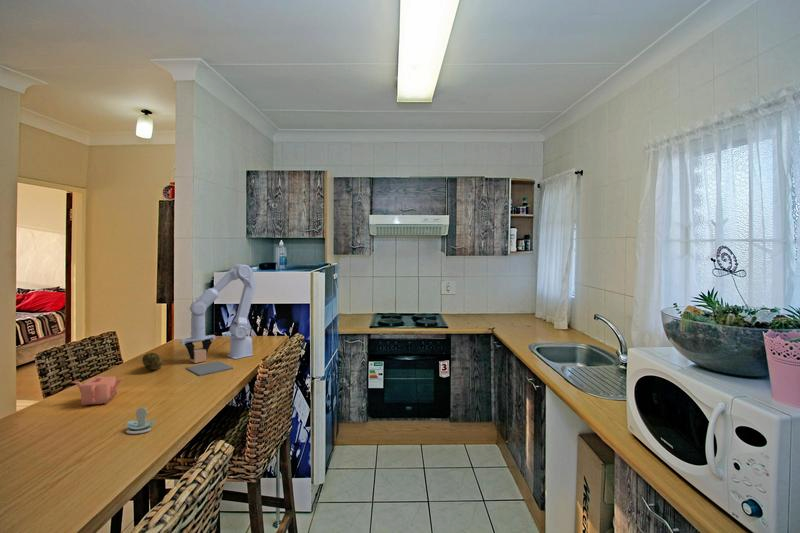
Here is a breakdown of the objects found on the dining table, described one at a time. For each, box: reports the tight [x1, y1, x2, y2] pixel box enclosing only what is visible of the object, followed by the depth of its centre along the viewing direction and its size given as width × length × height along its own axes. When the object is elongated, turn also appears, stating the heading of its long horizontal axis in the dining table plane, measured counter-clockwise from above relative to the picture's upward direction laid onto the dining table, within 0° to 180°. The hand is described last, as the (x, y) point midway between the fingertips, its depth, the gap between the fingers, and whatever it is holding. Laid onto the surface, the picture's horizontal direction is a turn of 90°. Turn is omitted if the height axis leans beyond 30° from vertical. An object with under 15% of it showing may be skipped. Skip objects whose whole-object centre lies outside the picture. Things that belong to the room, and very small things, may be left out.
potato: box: [141, 352, 164, 370], centre depth 172 cm, size 8×13×8 cm, turn 7°
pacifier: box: [125, 407, 156, 435], centre depth 117 cm, size 7×6×6 cm
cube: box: [189, 347, 207, 364], centre depth 185 cm, size 5×5×5 cm
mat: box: [185, 360, 234, 377], centre depth 175 cm, size 14×14×1 cm
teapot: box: [72, 375, 125, 406], centre depth 138 cm, size 12×15×8 cm
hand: (198, 357), depth 185 cm, fingers closed on cube, 5 cm apart
